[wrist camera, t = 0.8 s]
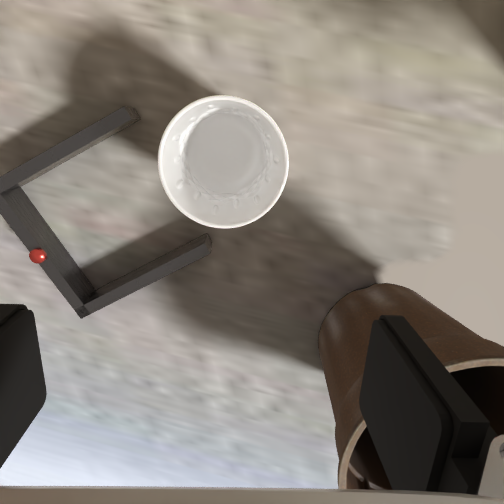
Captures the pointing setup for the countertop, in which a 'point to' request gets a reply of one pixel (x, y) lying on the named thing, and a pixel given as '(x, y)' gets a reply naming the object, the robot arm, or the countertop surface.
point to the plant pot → (353, 363)
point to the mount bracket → (51, 249)
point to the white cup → (223, 161)
